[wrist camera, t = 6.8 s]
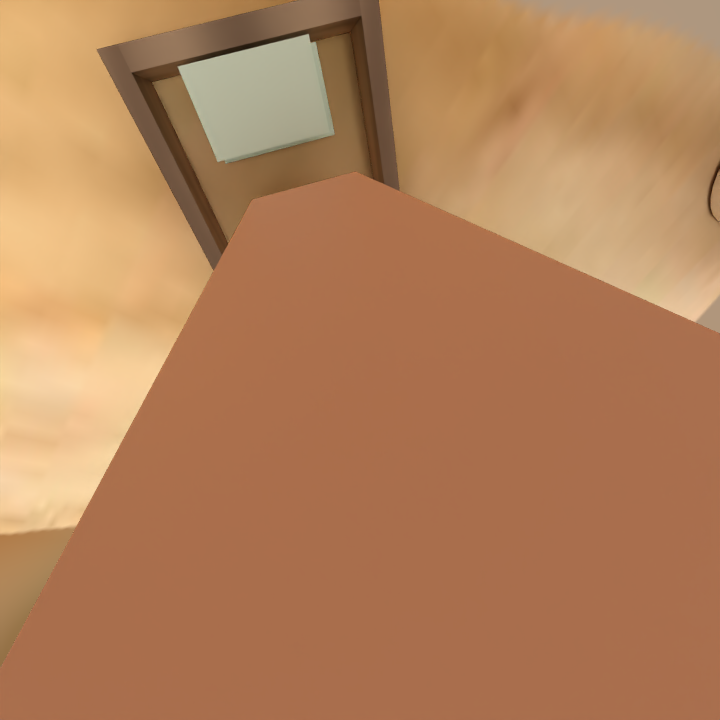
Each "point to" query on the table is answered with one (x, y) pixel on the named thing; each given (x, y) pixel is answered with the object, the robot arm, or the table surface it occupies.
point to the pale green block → (260, 98)
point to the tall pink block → (397, 492)
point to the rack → (232, 34)
